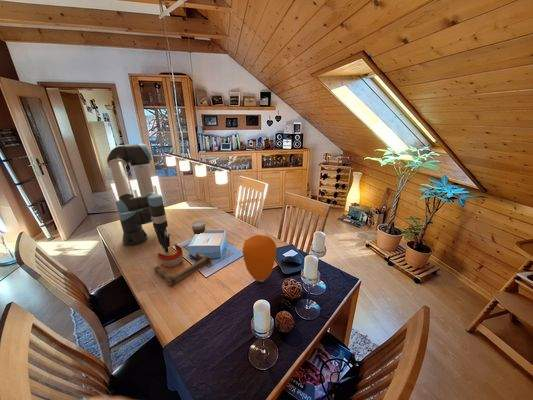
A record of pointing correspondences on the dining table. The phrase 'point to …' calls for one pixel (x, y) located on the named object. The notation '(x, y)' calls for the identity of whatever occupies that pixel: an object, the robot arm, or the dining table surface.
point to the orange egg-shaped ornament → (259, 256)
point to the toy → (171, 258)
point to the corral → (185, 273)
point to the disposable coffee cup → (198, 227)
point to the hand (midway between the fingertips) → (166, 255)
